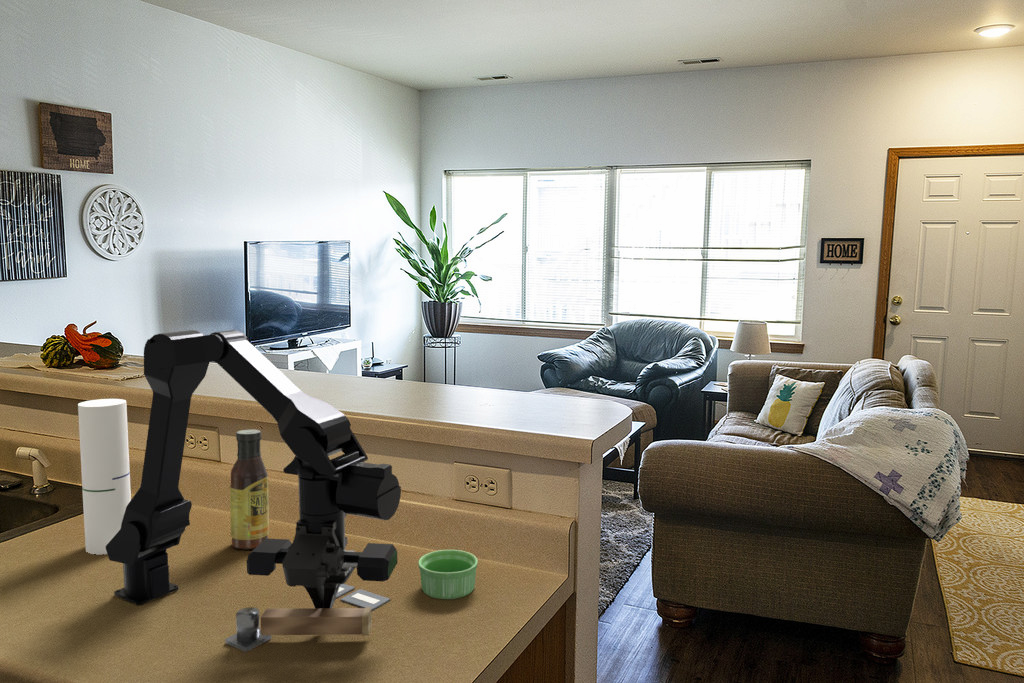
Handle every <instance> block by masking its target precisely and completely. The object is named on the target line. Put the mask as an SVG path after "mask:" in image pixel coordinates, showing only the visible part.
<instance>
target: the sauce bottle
mask: <svg viewBox="0 0 1024 683" xmlns="http://www.w3.org/2000/svg"><path fill="white" fill-rule="evenodd" d="M235 437H236V439H235V440H236V441H237V453H236V456H237V459H236V461H235V463H234V464H233V466H232V468H231V469H230V470H231V471H230V485H229V489H230V490H229V496H230V498H229V499H230V500H229V503H230V505H229V507H230V510H229V512H230V515H229V516H230V517H229V518H230V537H231V545H232V547H233V548H235V549H238V550H254V549H255V548H256V547H257V546H258V545H259V544H260V543H261V542H262V541H263V540H264V539H265V538H268V539H269V534H270V530H269V529H270V522H269V521H270V520H269V519H270V516H269V513H270V512H269V511H270V510H269V474H268V471H267V469H266V467H265V464H264V461H263V459H262V453H261V440H262V431H261V430H259V429H242V430H238V431H237V432H236V435H235Z"/></svg>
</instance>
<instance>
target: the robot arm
mask: <svg viewBox="0 0 1024 683" xmlns="http://www.w3.org/2000/svg"><path fill="white" fill-rule="evenodd" d="M210 362H214V363H216V364H217V365H218V366H219V367H220V368H222V369H223V370H224V371H225V372H226V373H227V374H228V375H229V376H230V377H231V378H232V379H233V380H234V381H235V382H236V383H237V384H238V385H239V386H240V387H241V388H242V389H243V390H244V391H246V392H247V393H248V394H249V395H250V396H251V397H252V398H253V399H254V400H255V401H256V402H257V403H258V404H259V405H260V406H261V407H262V408H264V410H265V411H266V412H268V414H270V415H271V416H272V418H273V419H274V420H275V421H276V423H277V427H278V432H279V436H280V437H281V439H282V441H284V443H285V444H286V446H288V448H289V450H290V451H291V452H292V454H294V457H293V459H292V460H291V462H290V463H289V464H287V465H286V466H285V467H283V470H282V471H283V473H284V474H289V475H294V476H295V475H296V476H297V477H298V480H297V481H298V505H299V506H298V508H299V509H298V510H299V514H298V515H299V516H298V517H299V518H298V520H297V521H296V522H295V525H296V527H295V533H294V537H293V542H291V540H290V539H287V538H269V537H268V538H265V539H264V540H263V541H262V542H261V543H260V544H259V545H258V546H257V547H256V548H253V549H252V551H251V552H250V553H249V554H248V555H247V558H246V573H247V574H248V575H249V576H265V577H266V576H270V575H271V574H273V572H274V571H275V570H276V569H277V567H276V566H277V565H278V564H279V565H282V566H281V567H282V569H283V574H284V579H285V582H286V585H287V586H289V587H292V588H293V587H294V588H295V587H297V586H298V587H304V589H305V590H306V592H307V593H308V596H309V597H310V600H311V602H312V604H313V606H314V607H313V608H334V604H335V601H336V599H337V598H336V596H337V593H338V590H339V587H340V585H341V584H346V583H347V581H348V580H349V578H350V577H351V575H352V574H353V572H354V570H355V569H356V575H357V576H358V577H359V578H360V579H361V580H362V581H367V582H385V581H389V579H390V577H391V575H392V574H393V571H395V568H396V566H397V564H398V550H397V548H396V547H395V545H394V544H393V543H377V542H376V543H373V542H370V543H369V542H368V543H367V544H366V545H365V548H364V549H363V550H362V552H361V551H355V550H350V549H349V550H347V549H346V547H347V545H348V536H346V527H345V525H346V523H345V520H346V519H345V518H346V517H347V516H348V515H352V516H359V517H364V518H370V519H375V520H382V521H388V520H390V519H391V518H392V517H394V515H395V514H396V513H397V510H398V508H399V504H400V501H401V494H402V486H400V482H399V480H398V477H397V476H396V475H395V474H393V466H392V465H391V464H388V463H379V464H378V463H371V462H367V461H368V459H369V457H368V455H367V453H366V452H365V451H364V450H365V449H364V448H363V447H362V445H361V444H360V442H359V440H358V439H357V436H355V434H354V432H353V430H352V429H351V426H352V423H351V421H350V420H349V418H348V417H347V416H346V415H345V413H343V412H341V411H340V410H338V409H337V408H336V407H334V406H332V405H331V404H330V403H328V402H326V401H324V400H323V399H322V400H321V399H319V398H316V397H313V396H310V395H308V394H307V393H305V392H303V391H302V390H301V389H300V388H299V387H298V386H296V385H295V383H293V382H292V380H290V378H288V377H287V376H286V375H285V374H284V373H283V372H282V371H281V370H280V369H278V368H277V366H275V365H274V364H273V362H271V361H270V360H269V359H268V358H266V356H265V355H264V354H263V353H261V352H260V351H259V350H258V349H257V348H256V347H255V346H254V345H253V344H252V343H251V342H250V341H249V339H248V337H247V336H246V334H245V333H244V332H242V331H239V330H236V329H231V330H222V331H215V332H211V333H210V334H205V335H204V334H203V333H202V332H200V331H198V330H193V329H191V330H190V329H189V330H181V331H170V332H163V333H157V334H154V335H153V336H151V337H150V338H148V339H147V340H146V342H145V344H144V347H143V375H144V377H145V379H146V381H147V383H148V385H149V387H150V389H151V391H152V399H151V407H150V414H149V415H150V416H149V421H148V429H147V436H146V444H145V452H144V460H143V466H142V474H141V481H140V486H139V488H138V490H137V491H136V492H135V494H134V495H133V497H131V501H130V502H129V504H128V505H127V507H126V510H125V513H124V517H123V520H122V523H121V529H120V530H119V531H118V533H117V534H116V535H115V536H114V537H113V538H112V539H111V541H110V542H109V543H108V544H107V545H106V551H107V554H106V555H107V557H108V560H109V561H110V562H115V563H121V564H122V569H123V570H122V571H123V586H124V587H121V588H120V589H116V590H115V591H114V592H113V594H114V595H113V596H116V597H118V598H120V599H122V600H125V601H127V602H129V603H131V604H133V605H136V606H140V605H144V604H146V603H149V602H152V601H154V600H156V599H158V598H159V599H160V598H161V597H164V596H166V595H169V594H171V593H173V592H176V591H179V589H180V588H179V585H177V584H175V583H173V582H171V581H170V566H169V555H168V554H169V553H168V552H167V550H168V549H170V548H173V547H176V546H178V545H180V542H181V538H182V535H183V534H184V532H185V531H186V527H188V526H190V525H191V522H190V513H191V509H192V506H193V504H192V501H191V500H189V499H185V498H184V496H183V494H182V492H181V490H180V488H179V485H180V478H181V472H182V464H183V456H184V450H185V443H186V437H187V435H186V434H187V428H188V423H189V415H190V409H191V402H192V396H193V395H194V393H195V391H196V390H197V389H198V387H199V386H200V384H201V383H202V381H203V380H204V379H205V377H206V375H207V371H208V368H209V365H210ZM339 452H340V453H341V452H342V453H343V454H341V455H337V457H334V458H331V459H330V457H331V456H333V455H335V454H337V453H339Z"/></svg>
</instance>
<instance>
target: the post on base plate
mask: <svg viewBox="0 0 1024 683" xmlns="http://www.w3.org/2000/svg"><path fill="white" fill-rule="evenodd" d="M235 613H236V614H235V622H236V633H235V634H232V635H230V636H228V637H226V638H225V639H224V640H225V643H224V644H227V645H228V646H231V647H233V648H235V649H238V650H240V651H243V652H244V653H247V652H249V651H251V650H253V649H254V648H256V647H259V646H260V645H262V644H264V643H266V642H267V641H270V640H272V635H261V624H260V610H259V608H257V607H254V606H253V607H244V608H241V609H239V610H237V611H236V612H235Z"/></svg>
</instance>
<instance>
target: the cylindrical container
mask: <svg viewBox="0 0 1024 683" xmlns="http://www.w3.org/2000/svg"><path fill="white" fill-rule="evenodd" d="M127 406H128V405H127V400H126V399H121V398H101V399H100V398H98V399H90V400H86V401H81V402H79V403H78V404H77V411H78V412H77V414H78V429H79V430H78V432H79V448H80V450H79V451H80V452H79V453H80V466H81V470H80V471H81V484H82V485H81V486H82V488H81V490H82V504H83V524H84V541H85V542H84V543H85V544H84V545H85V552H86V553H87V552H88V554H89V553H90V555H94V554H96V555H99V556H100V555H103V554H104V555H108V554H107V551H106V545H107V544H108V543H109V542H110V541H111V539H112V538H113V537H114V536H115V535H116V534H117V533H118V531H119V530H120V529H121V523H122V520H123V517H124V513H125V510H126V507H127V505H128V504H129V502H130V501H131V499H132V497H131V496H132V495H131V494H132V493H131V490H132V489H131V473H130V451H129V432H128V430H129V429H128V428H129V427H128V407H127Z"/></svg>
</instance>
